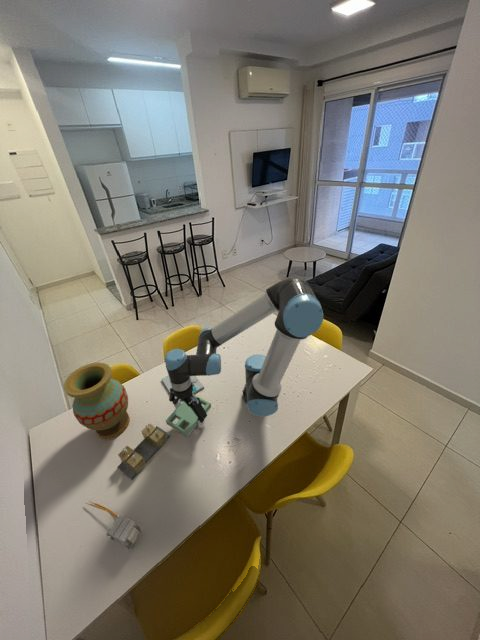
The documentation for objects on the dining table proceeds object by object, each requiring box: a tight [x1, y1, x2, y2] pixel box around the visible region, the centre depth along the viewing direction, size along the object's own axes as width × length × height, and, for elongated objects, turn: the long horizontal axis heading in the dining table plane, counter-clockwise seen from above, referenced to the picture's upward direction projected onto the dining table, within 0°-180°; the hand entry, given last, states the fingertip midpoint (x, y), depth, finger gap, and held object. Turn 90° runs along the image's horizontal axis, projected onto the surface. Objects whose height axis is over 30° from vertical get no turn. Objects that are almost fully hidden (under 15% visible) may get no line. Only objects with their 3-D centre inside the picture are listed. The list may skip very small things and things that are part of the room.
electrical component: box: [85, 500, 142, 551], centre depth 83 cm, size 24×6×5 cm, turn 68°
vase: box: [63, 362, 130, 440], centre depth 106 cm, size 20×20×30 cm
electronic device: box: [161, 375, 205, 402], centre depth 131 cm, size 18×2×15 cm
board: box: [165, 394, 212, 438], centre depth 109 cm, size 11×16×2 cm
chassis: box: [116, 423, 171, 481], centre depth 101 cm, size 9×20×8 cm, turn 148°
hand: (190, 418), depth 111 cm, fingers open, 11 cm apart
